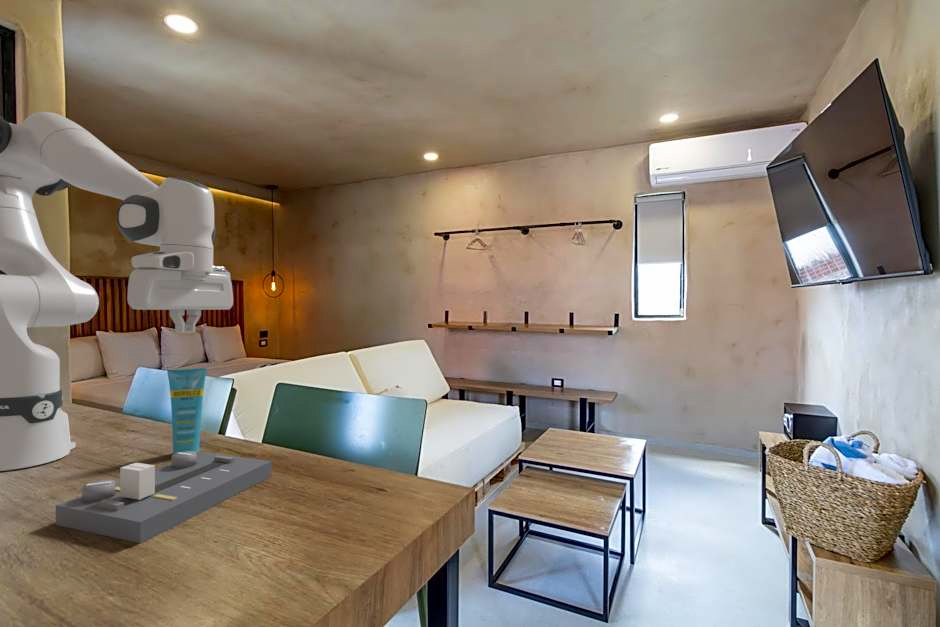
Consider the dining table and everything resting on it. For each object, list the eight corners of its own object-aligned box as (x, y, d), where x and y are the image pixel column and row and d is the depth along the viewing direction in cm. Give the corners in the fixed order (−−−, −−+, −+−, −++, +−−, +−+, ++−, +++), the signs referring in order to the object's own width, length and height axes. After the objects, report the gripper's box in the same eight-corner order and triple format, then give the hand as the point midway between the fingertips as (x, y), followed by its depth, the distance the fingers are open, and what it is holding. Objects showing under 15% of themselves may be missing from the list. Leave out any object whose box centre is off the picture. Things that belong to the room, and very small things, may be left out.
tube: (166, 459, 96) (167, 370, 95) (166, 453, 100) (167, 367, 99) (206, 453, 100) (207, 368, 99) (205, 447, 104) (206, 366, 103)
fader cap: (120, 496, 70) (120, 467, 70) (135, 490, 72) (136, 461, 72) (139, 499, 69) (139, 470, 68) (154, 493, 71) (154, 464, 71)
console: (55, 524, 67) (55, 490, 67) (202, 466, 92) (203, 441, 92) (140, 543, 62) (140, 506, 62) (271, 476, 87) (271, 450, 87)
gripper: (218, 267, 98) (216, 329, 98) (122, 256, 78) (120, 334, 78) (241, 267, 96) (239, 331, 96) (148, 256, 76) (146, 337, 76)
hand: (185, 333), depth 87 cm, fingers closed
